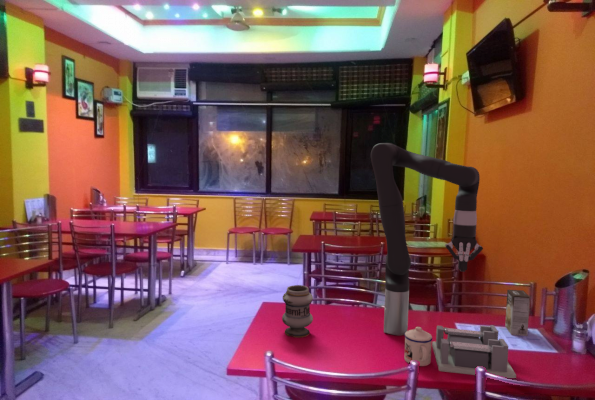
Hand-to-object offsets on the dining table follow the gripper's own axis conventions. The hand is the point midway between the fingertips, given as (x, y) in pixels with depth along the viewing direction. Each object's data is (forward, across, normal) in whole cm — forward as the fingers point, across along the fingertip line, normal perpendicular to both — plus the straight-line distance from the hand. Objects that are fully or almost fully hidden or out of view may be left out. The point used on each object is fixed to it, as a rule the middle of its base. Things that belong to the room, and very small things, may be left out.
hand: (462, 271), depth 150 cm
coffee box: (+29, +26, +24) cm, 46 cm away
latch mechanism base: (+29, +2, -8) cm, 30 cm away
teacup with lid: (+29, -15, -14) cm, 36 cm away
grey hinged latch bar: (+23, +2, -2) cm, 23 cm away
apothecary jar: (+29, -60, +1) cm, 67 cm away
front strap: (+23, +2, -15) cm, 27 cm away
